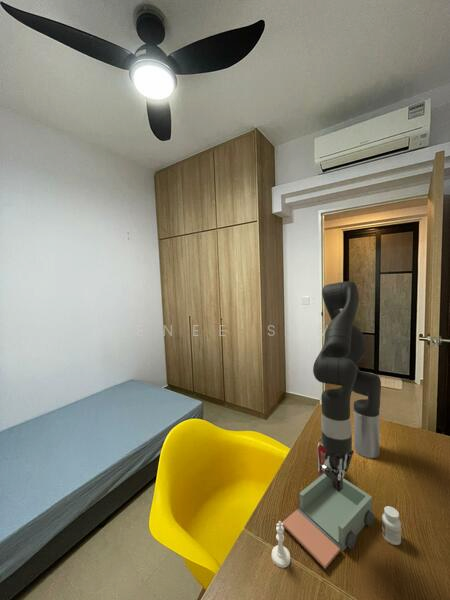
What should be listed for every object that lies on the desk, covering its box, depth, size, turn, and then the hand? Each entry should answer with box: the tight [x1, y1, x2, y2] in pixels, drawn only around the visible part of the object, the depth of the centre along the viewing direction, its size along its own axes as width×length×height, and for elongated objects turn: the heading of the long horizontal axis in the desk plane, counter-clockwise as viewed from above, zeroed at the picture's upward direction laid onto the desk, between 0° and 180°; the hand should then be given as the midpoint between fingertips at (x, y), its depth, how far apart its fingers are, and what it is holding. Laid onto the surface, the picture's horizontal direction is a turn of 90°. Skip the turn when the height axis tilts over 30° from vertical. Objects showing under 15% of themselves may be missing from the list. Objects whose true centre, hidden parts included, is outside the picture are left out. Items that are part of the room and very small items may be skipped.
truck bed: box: [298, 473, 375, 552], centre depth 76 cm, size 16×16×6 cm
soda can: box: [317, 437, 326, 476], centre depth 92 cm, size 7×7×12 cm
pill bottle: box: [381, 505, 402, 546], centre depth 68 cm, size 4×4×8 cm
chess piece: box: [271, 520, 291, 568], centre depth 65 cm, size 5×5×10 cm
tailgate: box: [281, 508, 342, 570], centre depth 69 cm, size 1×14×7 cm
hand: (337, 488), depth 69 cm, fingers closed
